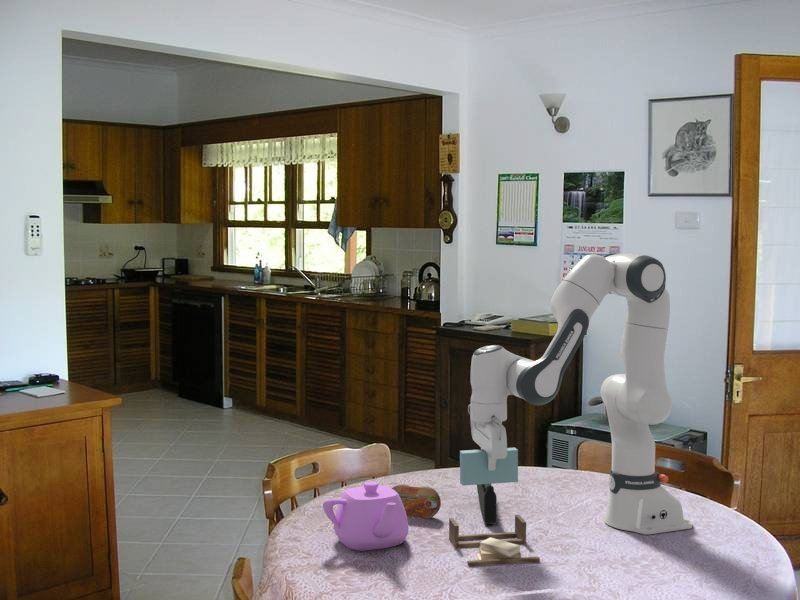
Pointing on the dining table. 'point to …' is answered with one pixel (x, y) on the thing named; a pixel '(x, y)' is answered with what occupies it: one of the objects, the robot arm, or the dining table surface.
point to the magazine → (487, 503)
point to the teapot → (368, 517)
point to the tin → (419, 500)
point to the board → (478, 473)
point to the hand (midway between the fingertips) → (489, 467)
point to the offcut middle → (495, 555)
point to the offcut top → (500, 546)
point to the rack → (519, 534)
